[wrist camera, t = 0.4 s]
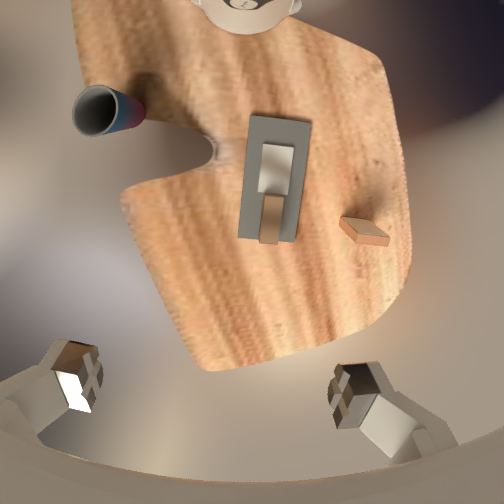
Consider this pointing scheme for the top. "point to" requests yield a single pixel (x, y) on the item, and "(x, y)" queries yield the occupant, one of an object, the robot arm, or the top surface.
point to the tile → (364, 231)
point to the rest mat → (251, 202)
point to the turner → (273, 189)
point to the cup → (105, 111)
